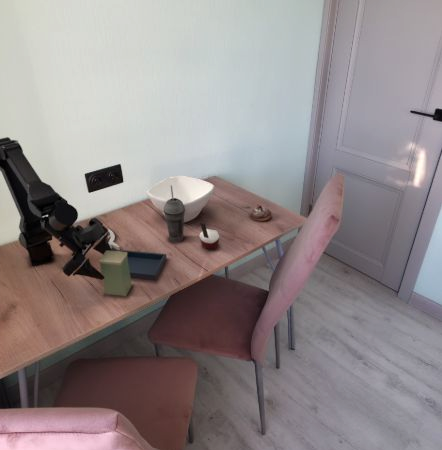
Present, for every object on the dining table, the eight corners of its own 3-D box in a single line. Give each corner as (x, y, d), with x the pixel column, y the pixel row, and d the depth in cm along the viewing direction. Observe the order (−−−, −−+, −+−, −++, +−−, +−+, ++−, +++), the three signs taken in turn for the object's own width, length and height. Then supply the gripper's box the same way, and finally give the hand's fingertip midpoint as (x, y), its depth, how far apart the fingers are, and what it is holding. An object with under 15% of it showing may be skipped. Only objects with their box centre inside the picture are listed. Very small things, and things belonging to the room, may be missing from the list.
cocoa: (212, 238, 141) (212, 208, 135) (225, 245, 138) (225, 214, 131) (192, 249, 136) (190, 218, 129) (204, 256, 132) (204, 225, 126)
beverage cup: (170, 246, 137) (166, 193, 127) (163, 236, 143) (158, 185, 132) (190, 241, 140) (187, 188, 129) (182, 231, 146) (178, 180, 135)
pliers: (108, 226, 146) (128, 243, 136) (109, 230, 147) (129, 247, 137) (82, 235, 141) (101, 254, 131) (83, 239, 141) (102, 258, 132)
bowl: (222, 211, 159) (221, 184, 152) (188, 236, 143) (187, 207, 137) (177, 198, 169) (175, 172, 163) (141, 220, 153) (138, 192, 147)
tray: (156, 281, 121) (155, 275, 120) (107, 276, 123) (106, 270, 122) (166, 260, 130) (165, 253, 129) (121, 255, 133) (120, 249, 131)
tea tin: (126, 297, 115) (120, 262, 108) (105, 295, 116) (98, 260, 109) (132, 285, 119) (127, 252, 113) (112, 283, 120) (106, 250, 114)
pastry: (246, 216, 155) (247, 204, 153) (260, 210, 160) (260, 198, 157) (262, 223, 150) (262, 212, 148) (275, 217, 155) (276, 205, 152)
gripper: (64, 233, 98) (113, 274, 102) (96, 199, 113) (138, 236, 118) (41, 257, 103) (89, 295, 107) (75, 222, 119) (116, 256, 123)
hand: (110, 268), depth 114 cm, fingers open, 9 cm apart
